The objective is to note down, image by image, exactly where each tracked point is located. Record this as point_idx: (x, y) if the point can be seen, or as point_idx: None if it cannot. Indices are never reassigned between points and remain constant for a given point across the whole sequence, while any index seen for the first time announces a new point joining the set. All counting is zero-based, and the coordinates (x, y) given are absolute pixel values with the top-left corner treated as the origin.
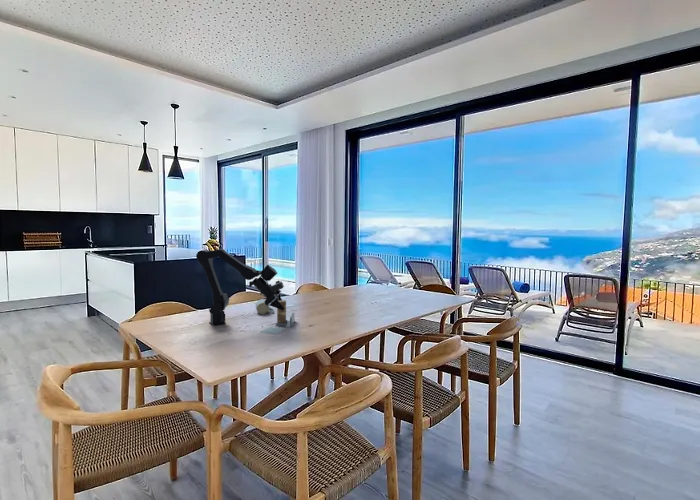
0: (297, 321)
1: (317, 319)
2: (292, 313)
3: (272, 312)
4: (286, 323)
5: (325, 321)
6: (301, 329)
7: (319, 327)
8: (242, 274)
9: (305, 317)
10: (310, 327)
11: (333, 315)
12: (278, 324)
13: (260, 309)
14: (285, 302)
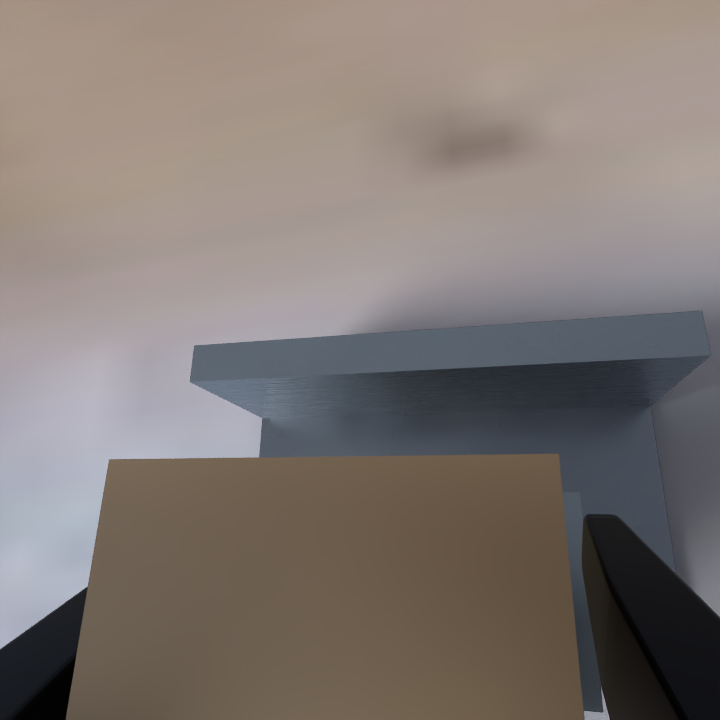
0: None
1: (176, 135)
2: (268, 371)
3: None
4: None
5: (267, 40)
6: (706, 215)
7: (547, 32)
8: None
9: (70, 285)
10: (565, 127)
11: (40, 30)
12: (591, 639)
13: None
14: (406, 463)
